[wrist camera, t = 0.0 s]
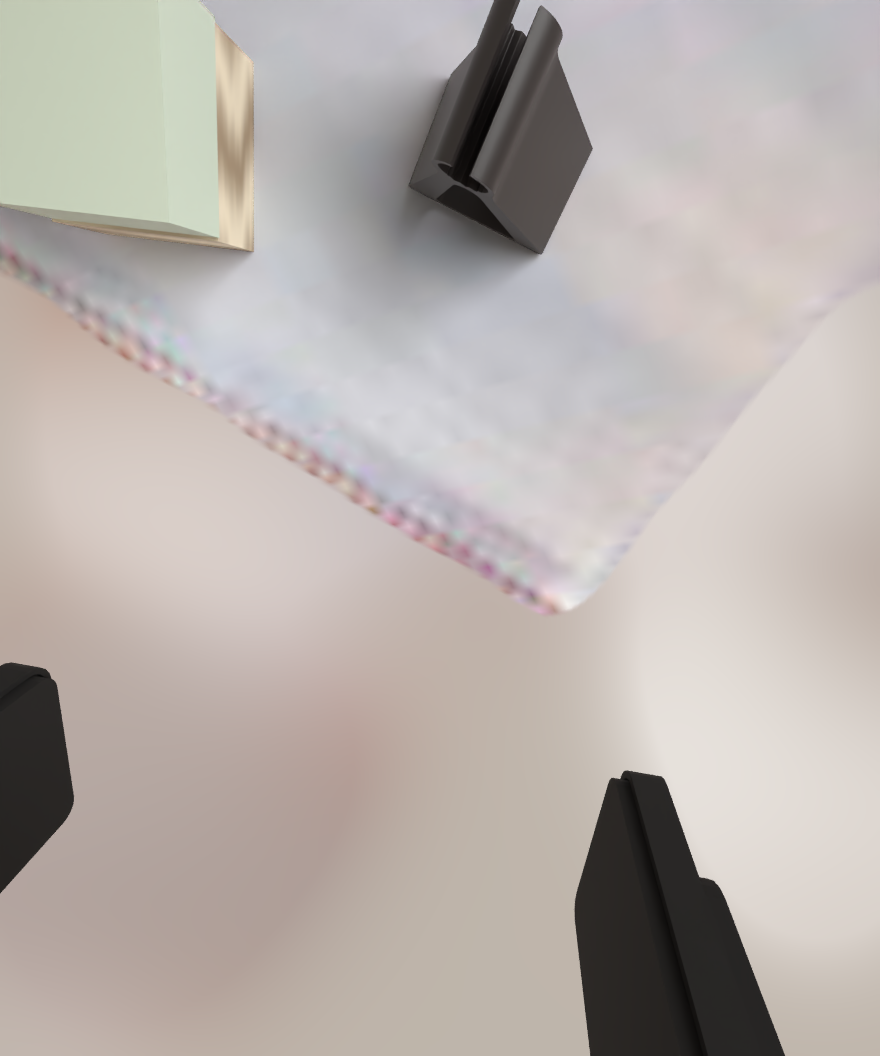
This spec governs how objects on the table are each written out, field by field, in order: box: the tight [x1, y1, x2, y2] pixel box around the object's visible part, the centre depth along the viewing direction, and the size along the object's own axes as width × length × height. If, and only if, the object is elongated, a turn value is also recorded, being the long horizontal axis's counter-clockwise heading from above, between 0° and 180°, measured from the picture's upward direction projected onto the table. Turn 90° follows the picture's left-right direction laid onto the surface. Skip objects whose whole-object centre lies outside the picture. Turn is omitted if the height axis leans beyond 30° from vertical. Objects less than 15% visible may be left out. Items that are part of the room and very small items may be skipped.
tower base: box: [52, 23, 254, 252], centre depth 32 cm, size 10×10×5 cm
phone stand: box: [409, 0, 593, 254], centre depth 27 cm, size 9×6×12 cm, turn 64°
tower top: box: [0, 0, 220, 238], centre depth 28 cm, size 10×10×5 cm
